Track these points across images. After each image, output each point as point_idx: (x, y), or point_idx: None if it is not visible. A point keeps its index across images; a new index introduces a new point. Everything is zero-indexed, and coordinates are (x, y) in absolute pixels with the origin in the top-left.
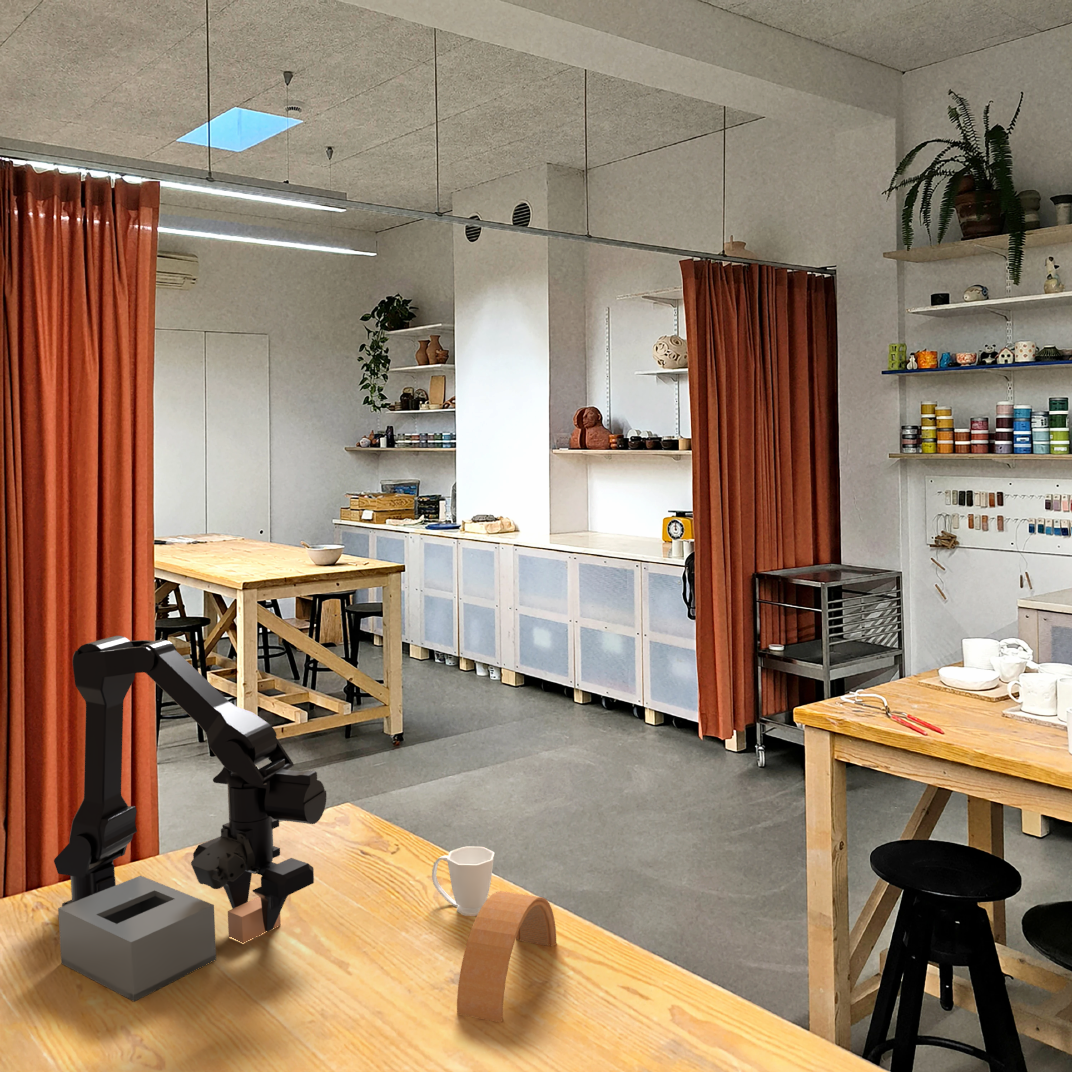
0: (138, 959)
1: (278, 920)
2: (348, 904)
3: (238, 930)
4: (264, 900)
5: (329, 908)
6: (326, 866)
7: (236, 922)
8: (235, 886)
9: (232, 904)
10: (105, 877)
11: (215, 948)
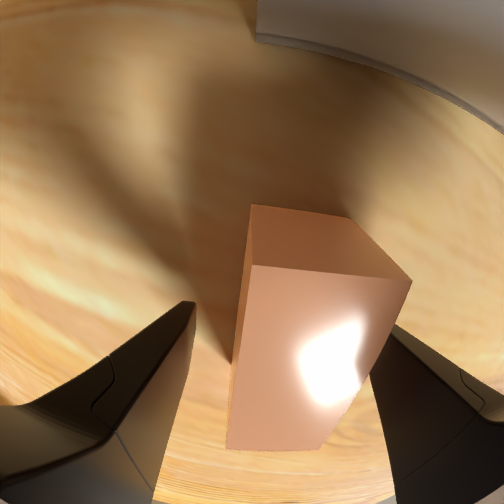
0: None
1: (230, 376)
2: (174, 451)
3: (288, 226)
4: (63, 415)
5: (192, 440)
6: (320, 484)
7: (312, 245)
8: (447, 434)
9: (424, 351)
10: None
11: (258, 21)
